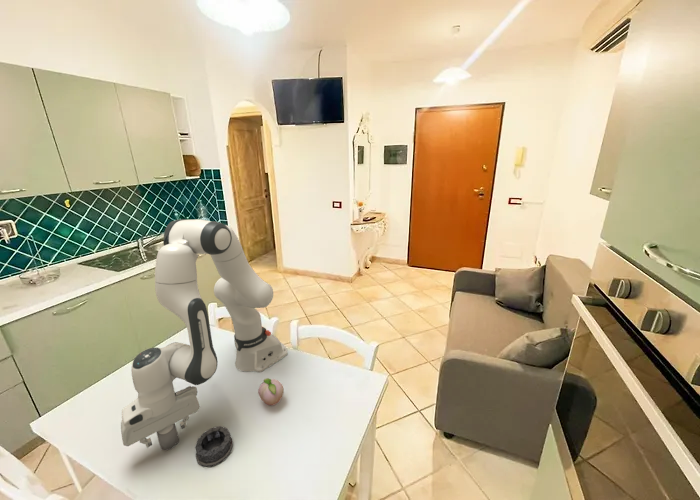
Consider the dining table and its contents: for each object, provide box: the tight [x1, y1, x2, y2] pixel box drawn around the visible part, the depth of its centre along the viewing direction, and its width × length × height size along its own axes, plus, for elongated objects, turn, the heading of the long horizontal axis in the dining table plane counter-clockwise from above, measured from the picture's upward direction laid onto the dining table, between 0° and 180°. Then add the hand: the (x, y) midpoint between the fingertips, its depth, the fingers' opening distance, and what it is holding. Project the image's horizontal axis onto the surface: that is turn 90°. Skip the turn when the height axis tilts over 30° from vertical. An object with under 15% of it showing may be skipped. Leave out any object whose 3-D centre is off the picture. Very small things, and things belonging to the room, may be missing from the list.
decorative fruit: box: [257, 377, 285, 406], centre depth 106 cm, size 9×8×10 cm
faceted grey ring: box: [194, 425, 234, 468], centre depth 90 cm, size 10×10×4 cm
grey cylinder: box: [156, 422, 180, 451], centre depth 92 cm, size 5×5×6 cm
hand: (167, 435), depth 92 cm, fingers open, 8 cm apart
